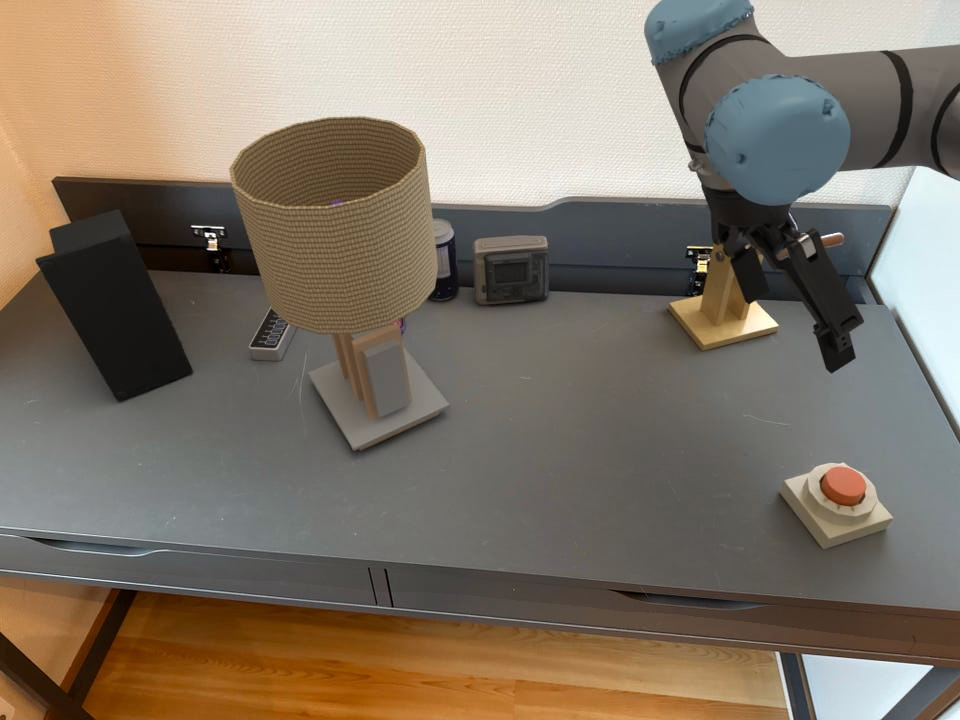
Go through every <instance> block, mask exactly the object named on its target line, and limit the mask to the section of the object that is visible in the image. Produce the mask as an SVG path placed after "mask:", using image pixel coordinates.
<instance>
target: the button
mask: <svg viewBox="0 0 960 720" xmlns="http://www.w3.org/2000/svg"><path fill="white" fill-rule="evenodd" d="M853 469H854V468H853ZM853 469H850V468H847V467H842V466H838V467H833V468H831V469H829V470H828V471H827V473H826V475H825V477H824V479H823V481H822V485H821V486H822V491H823V493H824V494H825V496H826V497H827V498H828V499H830V500H831V501H833V502H834V503H837V504H839V505H844V506H851V505H854V504H856V503H858V502H859V501H860V499H861V498H862V496H863V494H864V492H865V490H866V483H865V480H864V478H863V477H862V476H861V475H860V474H859V473H858V472H856V471H855V470H856V469H855V470H853Z"/></svg>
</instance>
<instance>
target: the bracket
mask: <svg viewBox="0 0 960 720" xmlns="http://www.w3.org/2000/svg"><path fill="white" fill-rule="evenodd" d="M750 246H752V247H753V245H751V244H750ZM723 247H724V246H723V245H722V244H720V245H719V246H717V245H716V244H714V243H713V246H712V249H711V255H710V259H709V264H708V269H707V274H706V279H705V283H704V287H703V293H702V294H701V295H697V296H693V297H688V298H685V299H680V300H676V301H672V302H671V301H670V302H669V303H668V308H667V309H668V311H669V312H670V313H671V315H672V316H673V317H674V318H675V319H676V320H677V322H678V323H679V324H680V325H681V327H682V328H683V330H684V331H685V332H686V333H687V334H688V336H689V337H690V338H691V339H692V340H693V342H694V343H695V344H696V345H697V347H698V348H699V349H700V351H702V352H704V351H708V350H712V349H716V348H718V347H723V346H728V345H730V344H731V345H732V344H736V343H739V342H742V341H746V340H751V339H754V338H758V337H762V336H766V335H769V334H774V333H777V332H778V330H779V328H780V327H779V326H780V325H779V324H778V323H777V322H776V320H774V319H773V318H772V317H771V315H769V314H768V312H766V311H765V310H764V308H763V307H761V305H760V304H759V303H758V301H757V300H756V301H754V302H753V303H751V304H748V303H747V302H745V299H744V297H743V294H742V292H741V289H740V286H739V284H738V281H737V279H736V276H735V273H734V271H733V268H732V265H731V263H730V260H731V257H727V256H726V255H725V254H724V251H723ZM758 257H759V260H760V263H761V265H762V263H763V259H764V256H763V255H758Z"/></svg>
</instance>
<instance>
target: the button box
mask: <svg viewBox="0 0 960 720" xmlns="http://www.w3.org/2000/svg"><path fill="white" fill-rule="evenodd" d="M838 466H842V467H847V468H850V469H853V470H855V471H856V472H858V473H859V474H860V475H861V476H862V477H863V478H864V480H865V483H866V490H865V492H864V494H863V496H862V498H861V499H860V501H859V502H858V503H856V504H854V505H851V506H844V505H839V504H837V503H834V502H833V501H831V500H830V499H828V498H827V497H826V496H825V494H824V493H823V491H822V486H821V485H822V481H823V479H824V477H825V475H826V473H827V471H828V470H829V469H831V468H833V467H838ZM876 489H877V488H876V487H875V485H874V484H873V483H872V481H870V479H869V478H868V477H867V476H866V475H865V474H864V473H863V472H861V471H859V470H857V469H855V468H854V467H852V466H849V465H848V464H847V463H846V462H841V463H834V462H827V463H823V464H821V465H817V466H814V467H813V469H812V470H811V471H810V472H808V473H807V472H806V473H803V474H800V475H798V476H793V477H790V478H787V479H784V480H783V481H782V484H781V486H780V489H779V491H778V492H779V494H780V495H781V496H782V498H783V499H784V500H785V502H786V503H787V504H788V505H789V507H790V508H791V510H792V511H793V512H794V514H795V515H796V516H797V518H798V519H799V520H800V521H801V523H802V524H803V525H804V526H805V528H806V529H807V530H808V532H809V533H810V534H811V536H813V538H814V540H815V541H816V543H817V544H818V545H819V546H820V547H821V549H822V550H827V549H829V548H833V547H836V546H839V545H843V544H845V543H848V542H851V541H854V540H857V539H860V538H863V537H866V536H869V535H872V534H875V533H879V532H882V531H884V530H887V529H888V527H889V526H890V524H891V522H892V521H893V519H894V517H893V515H892V514H891V513H890V512H889V511H888V510H887V509H886V507H885V506H884V505H883V504H882V503H881V502H880V500H879V499H878V495H877V490H876Z"/></svg>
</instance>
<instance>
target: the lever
mask: <svg viewBox="0 0 960 720" xmlns="http://www.w3.org/2000/svg"><path fill="white" fill-rule="evenodd" d="M820 237H821V239H822V242H823V245H824V248H825V249H829V248H833V247H837V246H841V245H843V244H844V242H845V236H844V234H842V232H836V233H831V234H827V235H822V236H820ZM749 247H750V244H749V245H747V246H746V247H745V248H746V249H747V248H749ZM756 252H757V254H758V255H762V253H761V252H760V251H759V250H757V249H756ZM787 253H788V251H787V249H786V250H785V251H783V252H782V253H780V254H779V255H777V256H776V257H777V259H779V260H781V259H783V258H784V257H786V256H787Z"/></svg>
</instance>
